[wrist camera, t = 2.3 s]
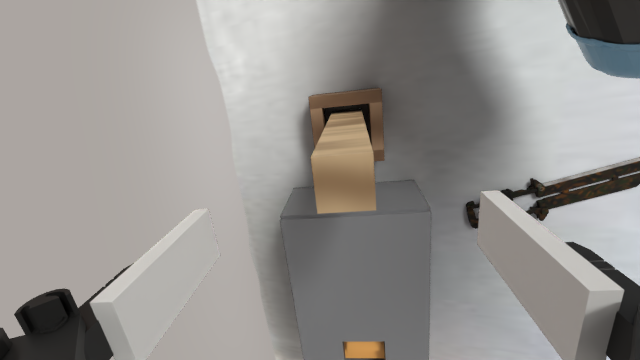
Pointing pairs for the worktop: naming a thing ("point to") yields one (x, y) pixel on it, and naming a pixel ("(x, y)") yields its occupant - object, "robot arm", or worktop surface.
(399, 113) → the worktop surface
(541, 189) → the knife
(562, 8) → the robot arm
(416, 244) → the box
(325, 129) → the light wood square bar
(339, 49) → the worktop surface
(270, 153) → the worktop surface
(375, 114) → the square wooden socket
